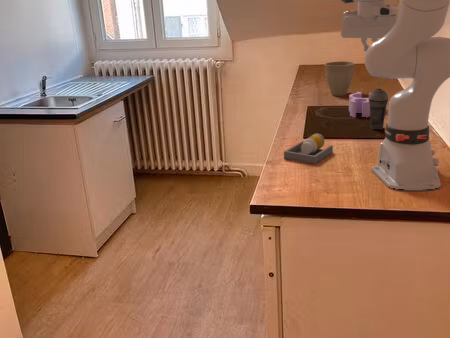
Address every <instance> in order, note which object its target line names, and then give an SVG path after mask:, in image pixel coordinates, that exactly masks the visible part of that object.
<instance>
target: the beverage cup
mask: <svg viewBox="0 0 450 338" xmlns="http://www.w3.org/2000/svg"><path fill="white" fill-rule="evenodd" d="M376 78H377V79H376V80H377V81H376V83H377V85H376V89H374V90H372V91H371V92H370V93H371V94H370V96H369V95H368V98H369V99H368V100H369V105H370V116H369V124H370V129H371V130H373V129H381V130H383V129H382V128H383V126H384V123H385V118H386V117H385V116H386V111H387V105H388V103H389V102H388V101H389V96H388V93H387V92H386V90H384V89H381V88H379V86H380V85H379V84H380V83H379V78H380V77H376Z"/></svg>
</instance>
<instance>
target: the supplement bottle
mask: <svg viewBox="0 0 450 338" xmlns="http://www.w3.org/2000/svg"><path fill="white" fill-rule="evenodd" d="M303 141H304V142H303V144H302V145H301V151H302V152H303V153H304V154H312V153H314V152H316V151H317V150H319V149H322V148H323V147H324V145H325V137H324V136H323V135H322V134H320V133H313V134H312V135H310V136H308V137H307V138H306V139H304V140H303Z"/></svg>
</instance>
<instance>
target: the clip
mask: <svg viewBox="0 0 450 338" xmlns="http://www.w3.org/2000/svg"><path fill="white" fill-rule="evenodd" d="M370 94H371V92H369V93H368V97H363V93H362V92H361V91H357V92H355V93H350V94H349V95H348V96H349V97H348V112H349V116H350V117H351V116H352V117H351V118H357V114H356V113H362V114H361V118H362V117H366V118H370V105H369V100H368V99H369V96H370Z"/></svg>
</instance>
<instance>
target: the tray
mask: <svg viewBox="0 0 450 338" xmlns="http://www.w3.org/2000/svg"><path fill="white" fill-rule="evenodd" d="M303 142H304V140H302V141H300V142H298V143H296V144H295V145H292V146H291V147H289V148H288V149H285V150H284V151H283V159H287V160H291V161H297V162H302V163H308V164H313V165H317V164H318V163H319V162H320V161H322V160H324V159H325V158H326V157H328V156H330V154H332V153H333V152H334V151H333V148H334V146H333V145H332V144H330V145H329V146H327V147H325V148H324V149H322V148H320V149H319V150H317V151H316V152H314V153H312V154H304V153H303V152H302V151H301V145H302V144H303Z"/></svg>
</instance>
